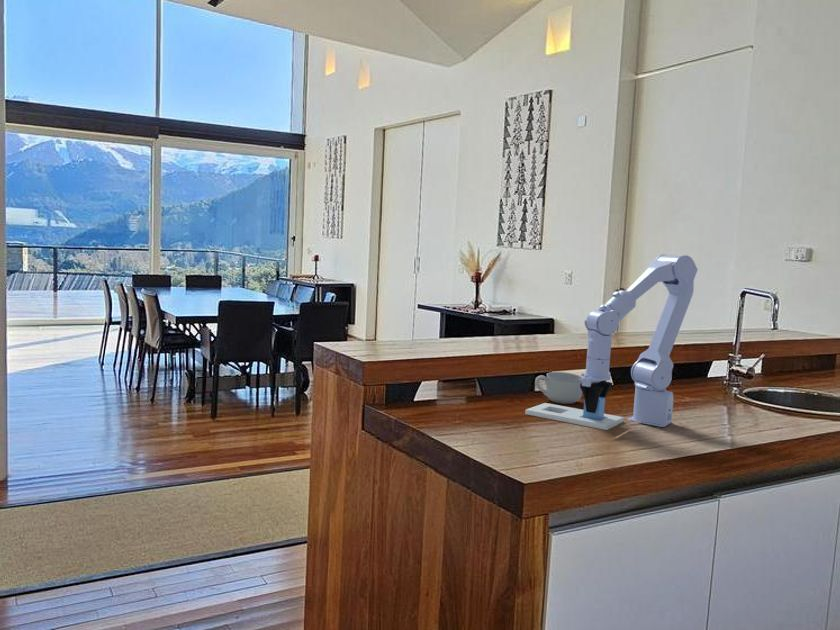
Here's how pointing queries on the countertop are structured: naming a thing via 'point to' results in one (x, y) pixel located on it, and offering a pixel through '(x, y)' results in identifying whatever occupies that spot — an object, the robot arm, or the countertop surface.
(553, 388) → the teacup
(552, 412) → the panel
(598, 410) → the plug
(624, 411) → the countertop surface
